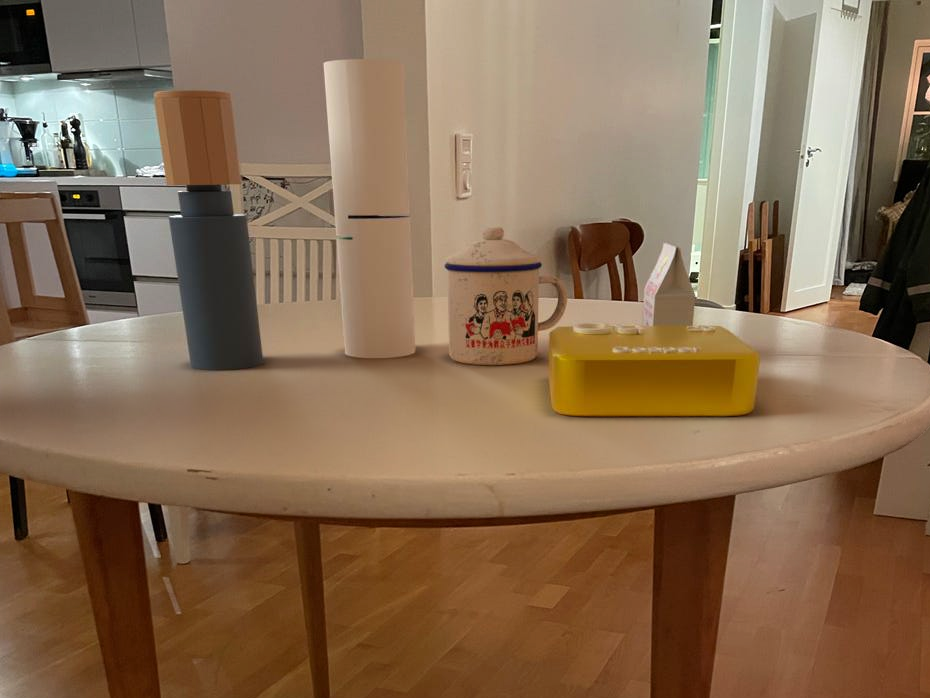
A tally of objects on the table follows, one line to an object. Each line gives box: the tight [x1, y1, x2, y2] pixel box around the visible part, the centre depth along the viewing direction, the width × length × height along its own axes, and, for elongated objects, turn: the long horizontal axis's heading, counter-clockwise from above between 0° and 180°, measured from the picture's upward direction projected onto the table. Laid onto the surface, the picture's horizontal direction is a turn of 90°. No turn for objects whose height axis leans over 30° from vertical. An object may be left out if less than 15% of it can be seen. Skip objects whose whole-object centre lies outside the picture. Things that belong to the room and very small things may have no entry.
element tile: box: [548, 322, 761, 417], centre depth 72 cm, size 15×15×5 cm
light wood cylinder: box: [153, 89, 242, 186], centre depth 80 cm, size 6×6×7 cm
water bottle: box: [168, 185, 264, 371], centre depth 84 cm, size 7×7×22 cm
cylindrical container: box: [323, 58, 416, 359], centre depth 88 cm, size 7×7×25 cm
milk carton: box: [641, 242, 696, 326], centre depth 87 cm, size 4×7×10 cm, turn 179°
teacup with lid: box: [444, 226, 568, 366], centre depth 87 cm, size 12×9×12 cm
